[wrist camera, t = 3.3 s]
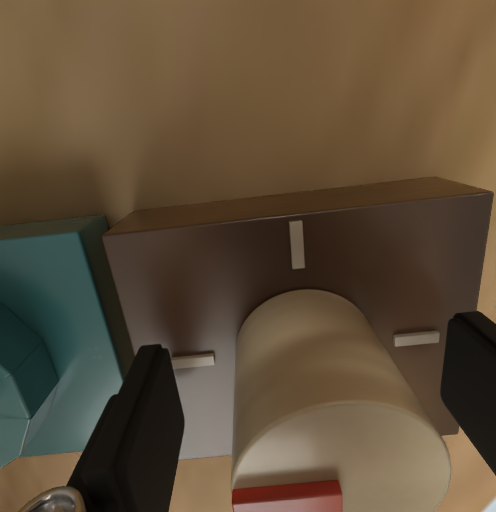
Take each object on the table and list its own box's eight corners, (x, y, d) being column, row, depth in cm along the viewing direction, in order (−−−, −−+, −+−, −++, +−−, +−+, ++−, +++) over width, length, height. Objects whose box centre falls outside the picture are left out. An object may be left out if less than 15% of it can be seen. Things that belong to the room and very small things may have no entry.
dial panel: (437, 176, 12) (500, 192, 9) (419, 378, 15) (461, 438, 12) (132, 210, 12) (97, 237, 9) (177, 402, 16) (162, 466, 13)
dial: (373, 280, 10) (476, 403, 6) (370, 395, 12) (449, 563, 7) (227, 296, 10) (214, 429, 6) (243, 408, 12) (244, 580, 7)
